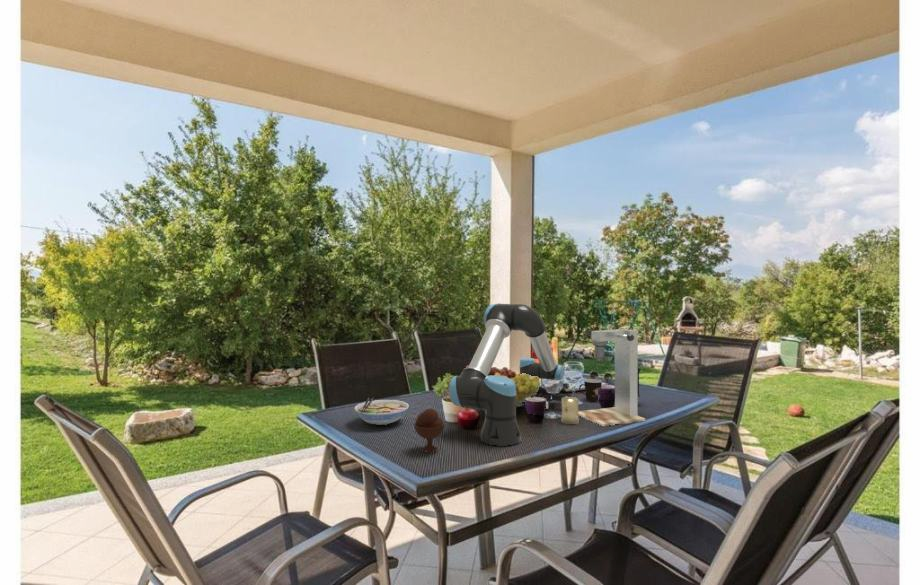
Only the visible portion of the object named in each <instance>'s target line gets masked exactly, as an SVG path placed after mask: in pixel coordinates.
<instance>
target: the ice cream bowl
mask: <svg viewBox="0 0 920 585" xmlns="http://www.w3.org/2000/svg"><path fill="white" fill-rule="evenodd" d="M415 420H416V421H415V422H414V424H413V426H414V430H415V432H416V433H417V434H418V436H420V437H422V439H425V440H426V441H427V442H426V443H427V444H426V445H424V446H423V447H422V449H421V451H422V450H423V451H427V452H433V451H436V450H437V449H438V447H437V446H435V445H434V444H433V440H434V439H436V438H439V436H441V434H442V432H443V430H444V428H445V425H446V422H445V421H444V420H443V419H442V417H439V414H438V411H437V410H436V409H433V408H426V409H425V410H424V411H422V412H420V413H419V414H418V415H417V417H416V419H415ZM423 451H422V452H423ZM437 451H438V450H437ZM437 451H436V452H437Z"/></svg>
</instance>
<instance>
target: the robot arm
mask: <svg viewBox="0 0 920 585" xmlns="http://www.w3.org/2000/svg"><path fill="white" fill-rule="evenodd" d="M483 315H484V316H483V324H484V327H485V332H484V334H483V337H482V338H481V340H480V341H479V342H480V343H479V344H478V346H477V349H476V350H475V352H474V354H473V357H472V358H471V361H470V363H469V365H468V367H466V368H463V370H462V371H461V373H460V375H455V376H453V377H452V378H451V379H450V382H449V386H448V396H449V398H450V401H451V403H452V404H453V405H454V406H457V407H460V408H468V409H473V410H480V411H484V421H483V425H482V427H481V431H480V441H481V443H483V442H484V444H485V443H486V444H485V445H488V444H489V446H493V445H497V446H496V447H509V446H508V445H511V446H515V445H518V444H519V443H520V442H521V441H522V434H521V431H520V428H519V425H518V421H517V390H516V386H517V384H516V382H515V381H514V380H513V379H511V378H509V377H507V376H503V375H489V373H491V372H490V371H491V369H492V367H493V365H494V363H495V361H496V358H497V356H498V354H499V351H500V349H501V347H502V344H503V342H504V339H506V338H508V337H509V336H510V334H511V333H512V331H520V332H524V334H525V335H526V337H527V338H529V340H530V343H531V345H532V348H533V350H534V352H535V356H536V358H537V361H538V362H536V360H535V358H533V357H532V358H531V357H523V358H521V359H519V375H520V374H522V373H526V374H529V375H531V376H538V377H539V378H540V379H542V380H550V381H562V380H563V379H564V376H565V367H564V366H563V364H562V365H561V364H558V362H556V358H555V356H554V353H553V351H552V347H551V345H550V342H549V339H548V336H547V334H546V330H547V328H546V324H545V321H544V320H543V318H542V316H541V315H540V314H539V313H538V312H537V311H536V310H535V309H533V308H532V307H531V306H528V305H527V304H524V303H523V304H522V303H521V304H520V303H518V304H515V303H494V304H489V306H488V307H487V308H486V309H485V311H484V314H483ZM539 378H538V379H539ZM532 397H544V398H546V399H547V401H546V408H545V409H547V410H548V409H549V402H554V401H556V402H557V401H558V402H562V398H563V397H572V396H571V395H570V394H563V393H558V392H554V391H553V392H548V391H547V390H546V388H545V387H542V386H540V387H539V390H538V392H537V394H536V395H532V396H531V398H532ZM517 443H518V444H517ZM514 444H515V445H514Z"/></svg>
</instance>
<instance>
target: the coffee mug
mask: <svg viewBox="0 0 920 585" xmlns="http://www.w3.org/2000/svg"><path fill="white" fill-rule="evenodd" d="M583 380H584V381H583V383H582V384H580V385H579V387H578V388H579V391H580V393H581V394H583V395H584V396H585V398H586V400H585V401H586V402H588V401H589V403H597V402H596V401H598V389H599V388H601V389H602V383H603V381H602V380H601V379H596V378H594V379H593V378H588V379H583ZM582 386H584V392H583V391H582V389H581V387H582Z"/></svg>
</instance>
